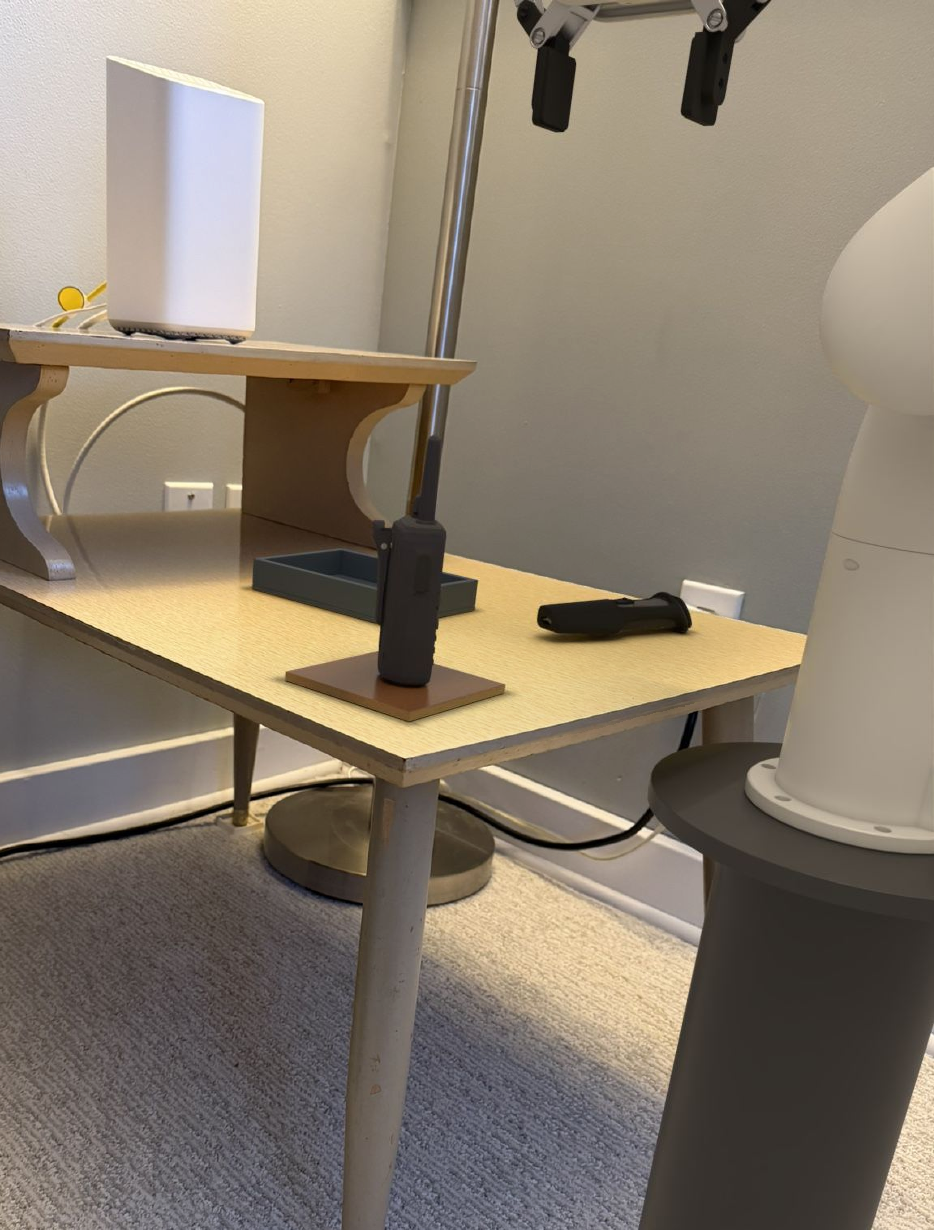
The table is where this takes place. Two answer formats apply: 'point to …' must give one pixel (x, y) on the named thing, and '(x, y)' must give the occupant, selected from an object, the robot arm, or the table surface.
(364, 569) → the tray
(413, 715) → the cork pad
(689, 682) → the table surface
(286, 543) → the table surface
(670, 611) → the electric trimmer
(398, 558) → the two-way radio
